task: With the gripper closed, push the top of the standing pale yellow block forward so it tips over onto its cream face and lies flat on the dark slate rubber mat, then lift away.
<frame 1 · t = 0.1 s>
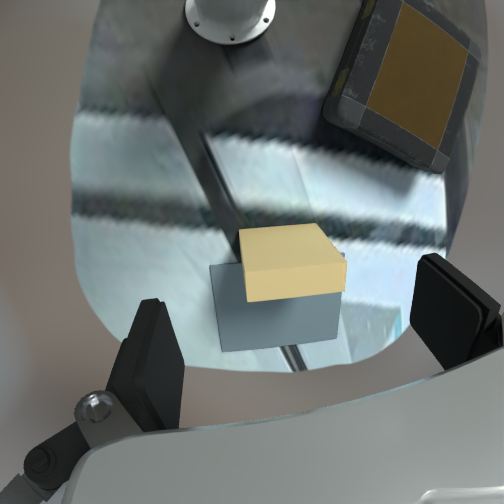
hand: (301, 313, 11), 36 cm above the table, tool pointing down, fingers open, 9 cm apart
mat: (280, 305, 54), on the table
cash box: (398, 78, 40), on the table
pale yellow block: (278, 238, 49), on the table
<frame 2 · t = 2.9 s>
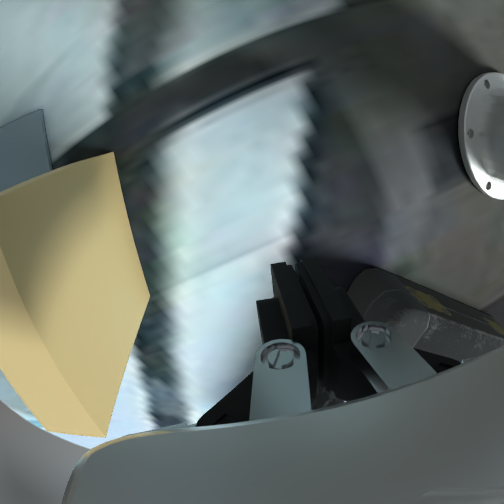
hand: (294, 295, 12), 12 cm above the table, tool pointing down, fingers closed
mat: (0, 256, 22), on the table
cash box: (397, 365, 32), on the table
pale yellow block: (107, 233, 23), on the table
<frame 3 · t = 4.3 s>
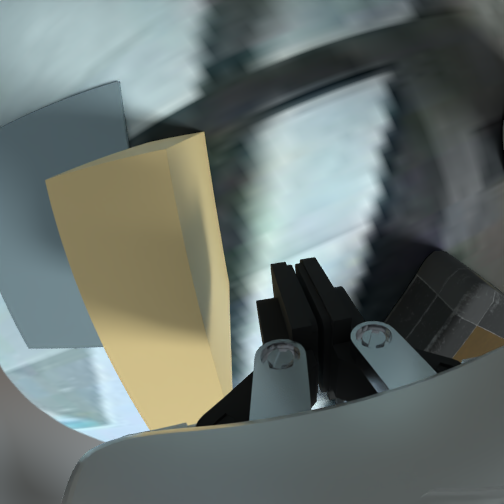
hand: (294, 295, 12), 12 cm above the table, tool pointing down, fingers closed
mat: (52, 242, 23), on the table
cash box: (442, 349, 32), on the table
pale yellow block: (190, 216, 23), on the table
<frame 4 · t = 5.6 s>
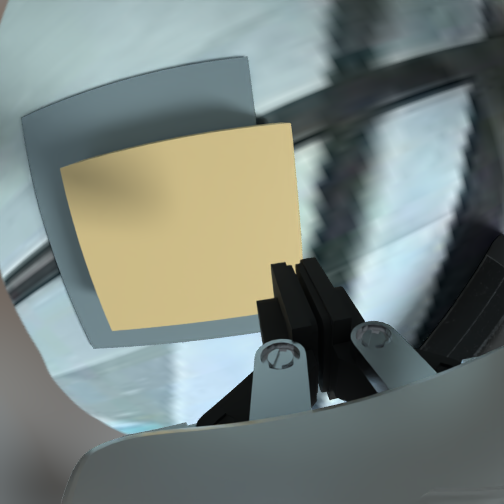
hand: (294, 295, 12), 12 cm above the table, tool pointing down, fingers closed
mat: (147, 224, 23), on the table
cash box: (490, 329, 33), on the table
pale yellow block: (293, 213, 21), point 3 cm above the table, tilted 90°, touching mat
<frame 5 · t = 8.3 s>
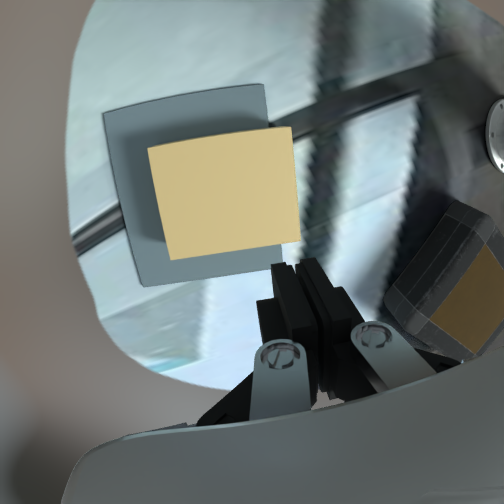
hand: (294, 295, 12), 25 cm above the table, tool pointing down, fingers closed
mat: (195, 190, 35), on the table
cash box: (453, 284, 45), on the table
pale yellow block: (292, 182, 33), point 3 cm above the table, tilted 90°, touching mat
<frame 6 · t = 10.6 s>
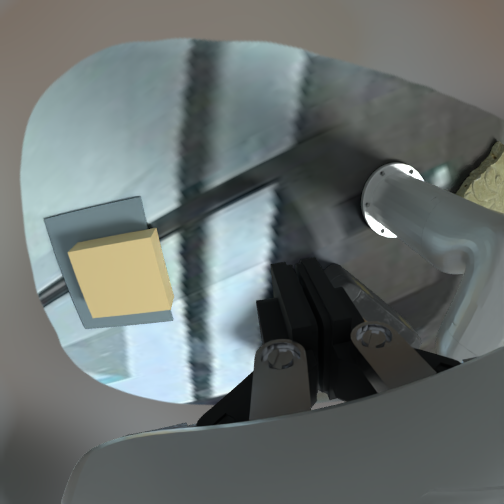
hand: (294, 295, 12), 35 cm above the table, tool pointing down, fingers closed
mat: (107, 270, 48), on the table
cash box: (339, 331, 58), on the table
pale yellow block: (163, 269, 46), point 3 cm above the table, tilted 90°, touching mat
decorative tile: (487, 198, 50), on the table
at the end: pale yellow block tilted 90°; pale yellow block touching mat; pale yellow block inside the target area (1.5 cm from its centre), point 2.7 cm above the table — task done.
